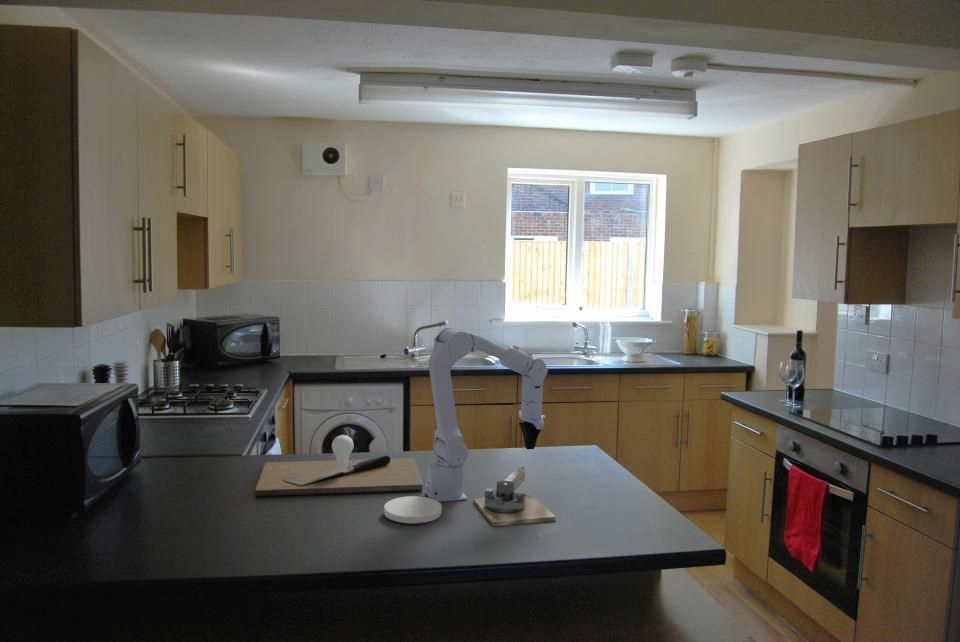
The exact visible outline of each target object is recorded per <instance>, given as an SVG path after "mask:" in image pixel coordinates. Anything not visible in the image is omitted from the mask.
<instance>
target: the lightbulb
mask: <svg viewBox="0 0 960 642" xmlns="http://www.w3.org/2000/svg"><path fill="white" fill-rule="evenodd" d="M331 443H332V444H331V448H332V449H331V450H332V453H333V454H334V456H335V459H336V464H337V469H338V468H346V467H347V468H348V464H349V458H350V456H351V455H352V452H353V450H354V445H355V444H354V440H353V439H352V438H351V437H350V436H349V435H345V434H340V435H338V436H336V437H335V438H334V439H333V440H332V442H331Z"/></svg>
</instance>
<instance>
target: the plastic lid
mask: <svg viewBox="0 0 960 642" xmlns="http://www.w3.org/2000/svg"><path fill="white" fill-rule="evenodd" d="M442 513H443V506H442V504H441V502H438V501H436V500H433V499H431V498H429V497H425V496H415V495H414V496H412V495H411V496H408V495H407V496H401V497H396V498H393V499H390V500H388V501H387V502H385V504H384V505H383V515H384V517H386V518H387V519H389V520H390V521H394V522H398V523H401V524H403V523H404V524H420V523H421V524H423V523H428V522H432V521H436V520H437V519H439V518H440V517H441V516H442Z"/></svg>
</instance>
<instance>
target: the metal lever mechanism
mask: <svg viewBox="0 0 960 642" xmlns="http://www.w3.org/2000/svg"><path fill="white" fill-rule="evenodd" d="M525 481H526V466H517V467H516V468H515V469H514V471H512V473H510V474H509V475H508V476H507V478H505V479H504V480H498V481H497V482H496V486H495V487H496V489H495V490H496V491H494V489H493V488H486V489H484V498H485V507H486V508H487V509H488V510H490V511H493V512H498V513H516V512H520V511H522V510H523V509H524V508H525V495H526V493H522V494H521V492H519V493H517V492H516V490H517V489H519V487H520V486H521V485H522V484H523V483H524V482H525Z"/></svg>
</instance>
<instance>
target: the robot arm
mask: <svg viewBox="0 0 960 642" xmlns="http://www.w3.org/2000/svg"><path fill="white" fill-rule="evenodd" d="M477 351H478V352H482V353H485V354H487V355H490V356H492V357H494V358H497V359H498V360H499V364H500V365H501V366H502V367H505V368H507V369H509V370H511V371H514V372H516V373H519V374H520V375H521V376H522V377H521V378H522V380H521V401H520V402H521V405H520V407H521V409H520V410H518V418H519V419H520V420H522V421H523V422H518V425H519V427H520V430H521V431H522V436H523V441H524V446H525V449H526V450H534V449H535V447H536V443H537V440H538V438H539V435H540V433H541V432H542V430H545V421H544V420H545V419H546V415H544V414H543V411H542V410H543V394H544V393H543V392H544V391H543V389H544V387H543V386H544V382H545V378H546V376H547V375H548V372H549V368H547V365H546V364H547V363H545V361H544V360H543V359H541V358H538V357H534V356H533V354H532V353H531V352H527V353H526V352H524V351H522V350H520V347H519V346H517V345H508V346H505V347H502V346H500V345H498V344H496V343H494V342H492V341H490V340H489V339H486V338H485V337H482V336H481V335H477V334H474V333H471V332H470V333H469V332H467V331H463V330H462V331H461V330H457V329H454V328H452V327H445V328H443V329H442V330H441V331H439V332H438V334H437V335H436V336H435V337H434V339H433V348H432V351H431V353H430V357H429V360H428V370H429V377H430V385H431V392H432V398H433V405H434V413H435V419H436V427H437V428H436V430H434V440H433V443H432V450H433V453H434V454H435V456H436V458H435V459H436V460H435V463H434V462H433V463H430V464H427V465H426V475H425V476H426V478H425V479H426V481H425V482H426V483H425V494H426V495H427V496H428V497H427V498H431V499H433V500H436V501H438V502H439V503H441V502H451V501H454V502H455V501H461V500H462V501H464V500H468V497H467V495H466V494H465V493H464V491H463V488H464V487H463V486H464V485H463V484H464V463H465V462H466V460H467V459H468V455H469V449H468V447H467V445H466V444H465V442H464V437H463V434H462V433H461V431H460V429H459V426H458V421H457V411H456V405H455V397H454V389H453V380H452V376H451V375H452V374H451V368H452V367H453V366H454V365H455V364H456V363H457V362H458V361H460V360H461V359H463V358H464V357H466V356H467V355H468V354H469V353H470V352H471V353H475V352H477Z"/></svg>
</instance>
